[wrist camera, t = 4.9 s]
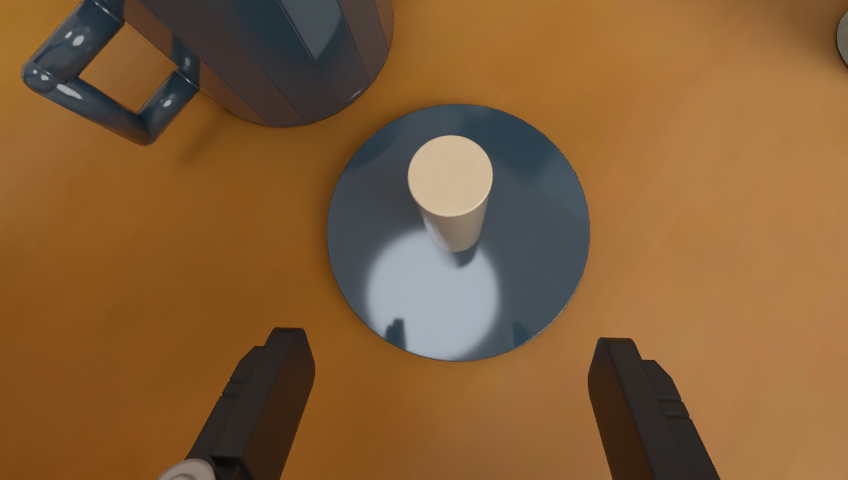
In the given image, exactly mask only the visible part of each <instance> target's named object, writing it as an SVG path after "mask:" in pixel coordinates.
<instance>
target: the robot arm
mask: <svg viewBox="0 0 848 480" xmlns="http://www.w3.org/2000/svg"><path fill="white" fill-rule="evenodd" d="M314 378H315V363H314V359H313V356H312V353H311V349H310V346H309V343H308V340H307V336H306V333H305V331H304V329H303V328H280V327H276V328H274V329H273V330H272V332H271V333H270V335H269V337H268V339H267V341H266V343H265V345H264V346H255V347H254V348H253V349H252V350H250V351H249V352H248V353H247V354H246V355H245V356H244V357H243V358H242V359H241V360H240V361H239V363H238V365H237V367H236V368H235V370H234V372H233V374H232V376H231V378H230V382H228V383H227V385H226V387H225V389H224V390H223V392H222V396H220V398H219V400H218V401H217V403H216V405H215V407H214V409H213V410H212V412H211V414H210V416H209V418H208V420H207V421H206V423H205V425H204V427H203V429H202V431H201V432H200V434H199V436H198V438H197V440H196V442H195V443H194V445H193V447H192V449H191V451H190V452H189V454H188V455H187V457H186V458H185V459H184V460H183V461H181V462H179V463H176V464H175V465H173V466H171V467H170V468H168V469H167V470H166V471H164V472H163V473H162V474H161V475H160V476H159V477H158V478H157V479H156V480H280V477H281V475H282V472H283V469H284V466H285V463H286V460H287V457H288V455H289V452H290V449H291V446H292V443H293V440H294V437H295V435H296V432H297V429H298V426H299V423H300V420H301V417H302V414H303V412H304V409H305V406H306V403H307V400H308V397H309V394H310V392H311V389H312V386H313V382H314ZM588 390H589V396H590V400H591V404H592V407H593V411H594V414H595V418H596V422H597V425H598V429H599V432H600V436H601V440H602V443H603V447H604V450H605V454H606V457H607V461H608V465H609V468H610V472H611V475H612V479H613V480H720V478H719V476H718V474H717V471H716V469H715V467H714V465H713V463H712V461H711V459H710V457H709V455H708V453H707V451H706V449H705V447H704V444H703V442H702V440H701V438H700V436H699V434H698V432H697V430H696V428H695V426H694V424H693V422H692V420H691V419H690V418H689V413H688V411H687V409H686V407H685V405H684V403H683V402H681V397H680V395H679V393H678V390H677V388H676V386H675V384H674V382H673V380H672V378H671V377H670V376H669V375H668V374H667V373H666V372H665V371H664V370H663V369H662V368H661V366H660V365H659V364H658V363H657V362H656V361H655V360H642V359H641V356H640V354H639V352H638V350H637V347H636V345H635V343H634V341H633V340H632V339H630V338H604V337H601V338H599V339H598V342H597V345H596V349H595V352H594V356H593V359H592V363H591V366H590V370H589V374H588Z"/></svg>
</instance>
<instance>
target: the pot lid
mask: <svg viewBox="0 0 848 480" xmlns="http://www.w3.org/2000/svg"><path fill="white" fill-rule="evenodd" d="M589 244H590V221H589V214H588V207H587V203H586V199H585V196H584V192H583V189H582V187H581V185H580V182H579V180H578V178H577V175H576V173H575V172H574V170H573V168H572V167H571V165H570V163H569V162H568V160H567V159H566V158H565V156H564V155H563V154H562V153H561V151H560V150H559V149H558V148H557V146H556V145H555V144H553V143H552V142H551V141H550V140H549V139H548V138H547V137H546V136H545V135H544V134H543V133H541V132H540V131H539V130H537V129H536V128H534V127H533V126H532V125H530V124H528V123H527V122H525V121H523V120H521V119H519V118H518V117H515V116H513V115H511V114H508V113H506V112H503V111H500V110H497V109H493V108H489V107H485V106H478V105H471V104H449V105H439V106H434V107H429V108H425V109H421V110H418V111H415V112H412V113H410V114H407V115H405V116H403V117H401V118H399V119H397V120H395V121H393V122H391V123H389V124H388V125H386V126H385V127H383V128H382V129H380V130H379V131H377V132H376V133H375V134H374V135H373V136H372V137H370V138H369V139H368V140H367V141H366V142H365V143H364V144H363V145H362V146H361V147H360V148H359V149H358V151H357V152H356V153H355V154H354V155H353V157H352V158H351V160H350V161H349V162H348V164H347V165H346V167H345V169H344V170H343V172H342V174H341V176H340V178H339V180H338V182H337V185H336V187H335V190H334V193H333V195H332V199H331V203H330V207H329V211H328V220H327V248H328V255H329V261H330V264H331V268H332V271H333V275H334V278H335V280H336V282H337V284H338V287H339V289H340V291H341V293H342V295H343V296H344V298H345V300H346V301H347V303H348V305H349V306H350V307H351V309H352V310H353V311H354V312H355V314H356V315H357V316H358V317H359V319H360V320H361V321H362V322H363V323H364V324H366V325H367V326H368V327H369V328H370V329H371V330H372V331H373V332H374V333H376V334H377V335H378V336H380V337H381V338H383V339H384V340H385V341H387V342H389V343H390V344H392V345H394V346H396V347H398V348H400V349H402V350H404V351H407V352H409V353H412V354H415V355H418V356H420V357H425V358H430V359H434V360H440V361H453V362H461V361H475V360H481V359H486V358H491V357H494V356H497V355H500V354H503V353H506V352H509V351H511V350H513V349H515V348H517V347H519V346H521V345H523V344H525V343H527V342H528V341H530V340H531V339H533V338H534V337H536V336H537V335H539V334H540V333H541V332H542V331H544V330H545V329H546V328H547V327H548V326H549V325H550V324H551V323H552V322H554V321H555V319H556V318H557V317H558V316H559V315H560V313H561V312H562V311H563V310H564V309H565V307H566V306H567V304H568V303H569V301H570V299H571V298H572V296H573V295H574V293H575V291H576V289H577V287H578V285H579V282H580V280H581V278H582V276H583V272H584V269H585V265H586V262H587V258H588V251H589Z"/></svg>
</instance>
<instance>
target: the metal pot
mask: <svg viewBox="0 0 848 480" xmlns="http://www.w3.org/2000/svg"><path fill="white" fill-rule="evenodd" d="M100 1H101V2H103V3H104V4H105V5H106V6H107V7H109V8H110V9H111V10H112V11H113V12H115V13H116V14H117V15H118V16H119V17H121V18H122V19H123V20H124V21H125V25H127V26H128V27H129V28H130V29H131V30H132V31H134V32H135V33H136V34H137V35H138V36H139V37H141V38H142V39H143V40H144V41H145V42H146V43H148V44H149V45H150V46H151V47H152V48H153V49H155V50H156V51H157V52H158V53H159V54H160V55H162V56H163V57H164V58H165V59H166V60H167V61H169V62H170V63H171V64H172V65H173V66H174V67H176V68H178V69H179V70H181V71H182V72H183V73H185V74H186V75H187V76H188V77H190V78H191V79H192V80H193V81H195V82H196V83H197V84H198V85H199V86H200V87H201V88H200V89H201V90H203V91H204V92H205V93H206V94H207V95H208V96H210V97H211V98H212V99H214V100H215V101H216V102H217V103H219V104H220V105H221V106H223V107H224V108H225V109H226V110H228V111H229V112H231V113H232V114H233V115H235V116H237V117H239V118H242V119H244V120H246V121H248V122H252V123H255V124H258V125H263V126H270V127H294V126H302V125H306V124H310V123H314V122H317V121H320V120H323V119H325V118H328V117H330V116H332V115H334V114H336V113H338V112H339V111H341V110H342V109H344V108H345V107H347V106H349V105H350V104H351V103H352V102H354V101H355V100H356V99H357V98H358V97H360V96H361V95H362V94H363V93H364V92H365V90H366V89H367V88H368V87H369V86H370V85H371V84H372V82H373V81H374V79H375V78H376V77H377V75H378V74H379V72H380V70H381V68H382V66H383V65H384V63H385V60H386V58H387V55H388V52H389V50H390V45H391V41H392V35H393V17H394V16H393V10H392V6H391V2H390V0H100Z"/></svg>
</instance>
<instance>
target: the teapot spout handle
mask: <svg viewBox="0 0 848 480" xmlns="http://www.w3.org/2000/svg"><path fill="white" fill-rule="evenodd" d="M124 24H125V21H124V20H123V19H122V18H121V17H119V16H118V15H117V14H116V13H115V12H113V11H112V10H111V9H110V8H109V7H107V6H106V5H105V4H104V3H103V2H101V1H100V0H82V1H81V2H80V3H79V4H78V5H77V7H76V8H75V9H74V10H73V11H72V12H71V13H70V14H69V15H68V16H67V17H66V19H65V20H64V21H63V22H62V23H61V24H60V25H59V26H58V27H57V28H56V30H55V31H54V32H53V33H52V34H51V35H50V36H49V37H48V38H47V39H46V40H45V42H44V43H43V44H42V45H41V46H40V47H39V48H38V49H37V50H36V51H35V53H34V54H33V55H32V56H31V57H30V58H29V59H28V61H27V62H26V63H25V64H24V65H23V66H22V68H21V77H22V80H23V82H24V83H25V85H26V86H27V87H28V88H29V89H31V90H32V91H34V92H35V93H37V94H39V95H41V96H43V97H45V98H47V99H49V100H51V101H53V102H55V103H57V104H59V105H61V106H63V107H65V108H66V109H68V110H70V111H72V112H74V113H76V114H78V115H80V116H82V117H84V118H86V119H88V120H90V121H92V122H94V123H96V124H98V125H99V126H101V127H103V128H105V129H107V130H109V131H111V132H113V133H115V134H117V135H119V136H121V137H123V138H125V139H127V140H129V141H130V142H132V143H134V144H137V145H140V146H148V145H151V144H152V143H154V142H155V141H156V139H157V138H158V137H159V136H160V135H161V134H162V133H163V132H164V130H165V129H166V128H167V127H168V126H169V125H170V124H171V122H172V121H173V120H174V119H175V118H176V117H177V115H178V114H179V113H180V112H181V111H182V110H183V108H184V107H185V106H186V105H187V104H188V103H189V101H190V100H191V99H192V98H193V97H194V96H195V94H196V93H197V92H198V91H199V90H200V88H201V87H200V86H199V85H198V84H197V83H196V82H195V81H193V80H192V79H191V78H190V77H188V76H187V75H186V74H185V73H183V72H182V71H181V70H179V69H178V68H175V69H174V70H173V71H172V72H171V73H170V75H169V76H168V77H167V78H166V79H165V80H164V82H163V83H162V84H161V85H160V86H159V87H158V88H157V90H156V91H155V92H154V93H153V94H152V95H151V96H150V98H149V99H148V100H147V101H146V102H145V103H144V104H143V106H142V107H141V108H140V109H139V110H138V111H137V112H135V111H133V110H131V109H130V108H128V107H126V106H125V105H123V104H122V103H120V102H118V101H117V100H115V99H113V98H112V97H110V96H109V95H107V94H105V93H104V92H102V91H100V90H99V89H97V88H96V87H94V86H92V85H91V84H89V83H87V82H86V81H84V80H82V79H81V78H79V77H78V76H79V75H80V74H81V73H82V72H83V71H84V70H85V68H86V67H87V66H88V65H89V64H90V63H91V62H92V61H93V60H94V58H95V57H96V56H97V55H98V54H99V53H100V52H101V51H102V49H103V48H104V47H105V46H106V45H107V44H108V43H109V42H110V41H111V39H112V38H113V37H114V36H115V35H116V34H117V33H118V32H119V30H120V29H121V28H122V27H123V26H124Z"/></svg>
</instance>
